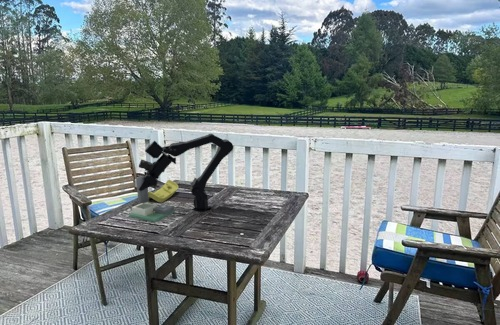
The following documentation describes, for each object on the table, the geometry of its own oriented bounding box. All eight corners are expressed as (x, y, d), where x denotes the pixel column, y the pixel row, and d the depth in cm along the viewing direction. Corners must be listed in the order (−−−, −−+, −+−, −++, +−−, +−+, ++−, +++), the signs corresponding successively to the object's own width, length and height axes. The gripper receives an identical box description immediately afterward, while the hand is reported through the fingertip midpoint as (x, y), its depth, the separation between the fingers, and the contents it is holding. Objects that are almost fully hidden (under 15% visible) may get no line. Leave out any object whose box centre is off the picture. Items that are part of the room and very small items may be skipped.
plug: (149, 199, 182) (147, 175, 179) (149, 202, 177) (146, 178, 174) (137, 200, 181) (134, 176, 178) (136, 203, 176) (134, 179, 173)
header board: (174, 212, 183) (173, 204, 182) (154, 222, 171) (154, 213, 170) (149, 207, 190) (148, 199, 189) (129, 216, 178) (128, 208, 177)
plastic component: (162, 199, 196) (147, 190, 197) (158, 210, 199) (143, 201, 200) (181, 186, 213) (167, 178, 215) (177, 196, 216) (164, 188, 218)
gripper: (148, 150, 183) (127, 173, 183) (147, 157, 166) (124, 183, 166) (165, 164, 187) (145, 187, 187) (167, 173, 169) (144, 198, 169)
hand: (139, 188), depth 177 cm, fingers closed on plug, 5 cm apart
